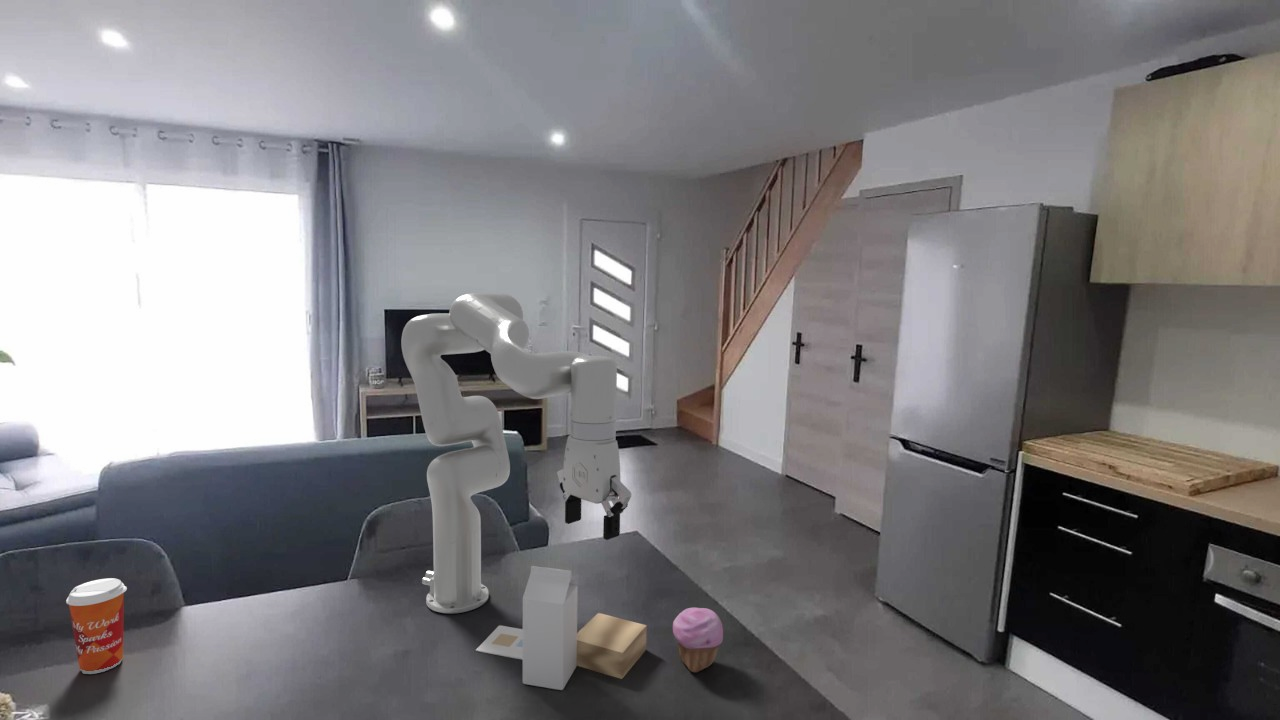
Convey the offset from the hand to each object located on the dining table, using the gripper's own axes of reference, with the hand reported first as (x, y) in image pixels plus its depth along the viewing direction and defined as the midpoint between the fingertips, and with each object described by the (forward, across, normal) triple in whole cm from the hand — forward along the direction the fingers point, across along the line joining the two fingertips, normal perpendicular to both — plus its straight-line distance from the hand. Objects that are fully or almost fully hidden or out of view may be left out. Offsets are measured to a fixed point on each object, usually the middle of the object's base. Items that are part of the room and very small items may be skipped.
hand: (591, 529), depth 109 cm
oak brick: (+25, 0, +5) cm, 26 cm away
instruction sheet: (+25, -15, -4) cm, 29 cm away
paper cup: (+25, -58, -59) cm, 86 cm away
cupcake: (+25, +12, +14) cm, 31 cm away
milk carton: (+25, -3, -6) cm, 26 cm away
